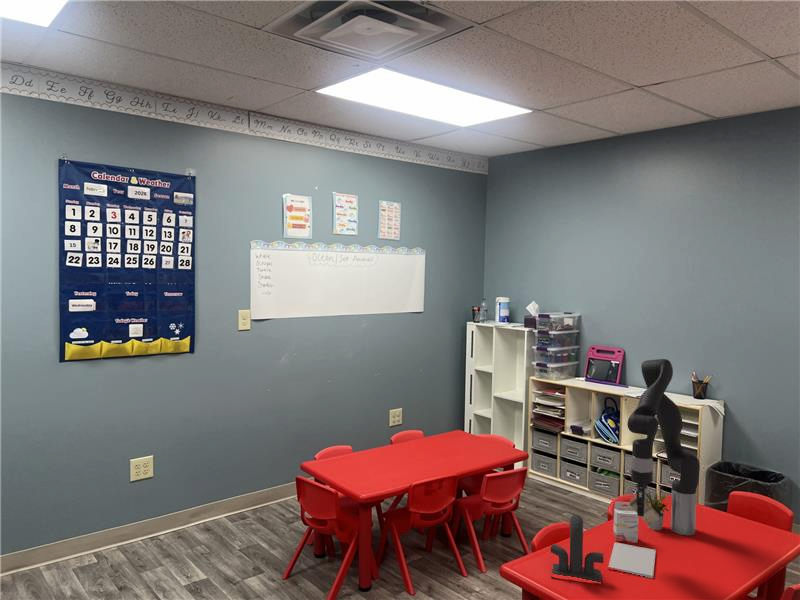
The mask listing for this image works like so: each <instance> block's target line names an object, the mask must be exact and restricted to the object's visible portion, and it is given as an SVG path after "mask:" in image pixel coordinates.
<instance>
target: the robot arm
mask: <svg viewBox="0 0 800 600" xmlns="http://www.w3.org/2000/svg"><path fill="white" fill-rule="evenodd" d="M640 367H641V373H642V377H643V380H644V382H645V386H646V388H647V389H645V391H644V392H643V393H642V394H641V396H640V398H639V401H638V403H637V407H636V408H635V409H634V410H633V411H632V413H631V414H630V415H629V417H628V419H627V423H626V424H627V429H628V430H629V431H630V432H631V433H632V434H633V433H634V434H638V435H646V438H643V439H642V438H639V439H638V438H637V439H634V440H633V441H632V448H631V449H632V450H631V463H630V464H631V467H630V479H631V482H632V481H633V482H634V483H636V484H635V496H636V499H637V503H636V505H637V515H638V517H640V516H644V506H645V504H644V501H645V500H646V499H647V493H648V485H649V484H652V483H653V481H654V480H653V479H654V461H653V452H654V449H653V448H654V442H655V438H656V436H657V433H658V429H660V433H661V436H662V439H663V443H664V449H665V454H666V460H667V464H668V466H669V467H670V469H671V470H672V471H673V472H675V473H677V474H680V475H679V479H677V480H674V481H672V483H671V501H670V502H671V509H670V510H671V511H670V512H671V513H670V514H671V515H670V530H671V531H672V532H673V533H676V534H678V535H680V536H681V535H682V536H693V535H695V534H696V518H697V515H696V514H697V512H696V511H697V506H696V505H697V488H698V486H699V481H700V480H699V479H700V470H701V468H700V467H701V465H700V460H699V458H698V457H697V456H696V455H694V454H692V453H689V452H686V451H684V449H683V446H682V444H681V439H680V436H681V433H682V431H683V426H684V421H683V418H682V415H681V412H680V408H679V406H678V405H677V404H676V403H675V402H674V401H673V400H672V399H671V398H670V397H668V396H667V395H666V394H665V392H666V390H667V388H668V386H669V385H670V383H671V381H672V379H673V376H674V375H673V374H674V369H673V365H672V363H671V361H670V360H669V359H667V358H659V359H658V358H657V359H650V360H649V359H648V360H644V361H642V363H641V366H640ZM639 501H642V502H643V503H639Z"/></svg>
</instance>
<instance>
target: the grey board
mask: <svg viewBox="0 0 800 600" xmlns="http://www.w3.org/2000/svg"><path fill="white" fill-rule="evenodd" d="M656 554H657V553H656V549H652V548H648V547H642V546H641V547H640V546H636V545H630V544H625V543H622V542H621V543H620V542H617V541H616V542H614V544H613V548H612V551H611V555H610V558H609V563H608V567H610V568H615V569H618V570H621V571H624V572H628V573H632V574H631V575H633V574H636V575H635V576H638V575H640V576H639V577H643V576H645V577H644V578H649V579H654V571H655V562H656ZM608 567H607V568H608ZM628 573H627V574H628Z"/></svg>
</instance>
